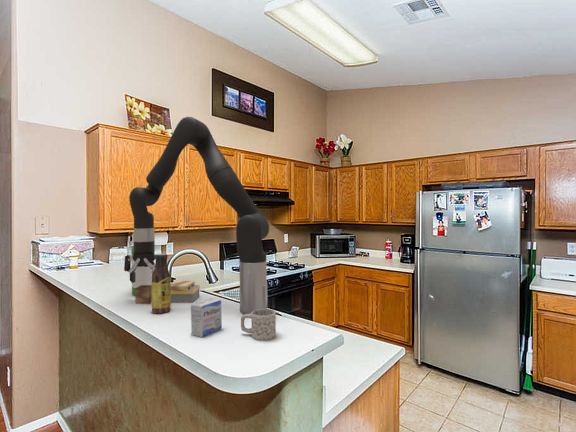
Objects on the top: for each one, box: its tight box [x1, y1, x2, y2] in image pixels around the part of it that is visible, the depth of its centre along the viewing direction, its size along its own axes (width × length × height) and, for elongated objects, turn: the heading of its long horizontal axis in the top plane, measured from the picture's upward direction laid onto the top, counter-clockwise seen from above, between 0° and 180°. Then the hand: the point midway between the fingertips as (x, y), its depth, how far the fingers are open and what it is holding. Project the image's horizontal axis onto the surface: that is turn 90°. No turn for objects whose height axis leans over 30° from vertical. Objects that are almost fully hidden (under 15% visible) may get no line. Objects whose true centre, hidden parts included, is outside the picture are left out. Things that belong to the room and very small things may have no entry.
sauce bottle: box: [150, 253, 172, 314], centre depth 118 cm, size 7×6×20 cm
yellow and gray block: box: [171, 284, 201, 303], centre depth 134 cm, size 12×9×4 cm
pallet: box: [171, 280, 195, 291], centre depth 134 cm, size 8×10×2 cm
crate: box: [134, 285, 152, 305], centre depth 130 cm, size 5×5×6 cm
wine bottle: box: [130, 246, 153, 296], centre depth 143 cm, size 8×8×30 cm
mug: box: [240, 308, 277, 342], centre depth 95 cm, size 10×7×7 cm
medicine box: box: [190, 298, 223, 338], centre depth 98 cm, size 8×4×9 cm, turn 148°
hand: (144, 282), depth 130 cm, fingers open, 8 cm apart
